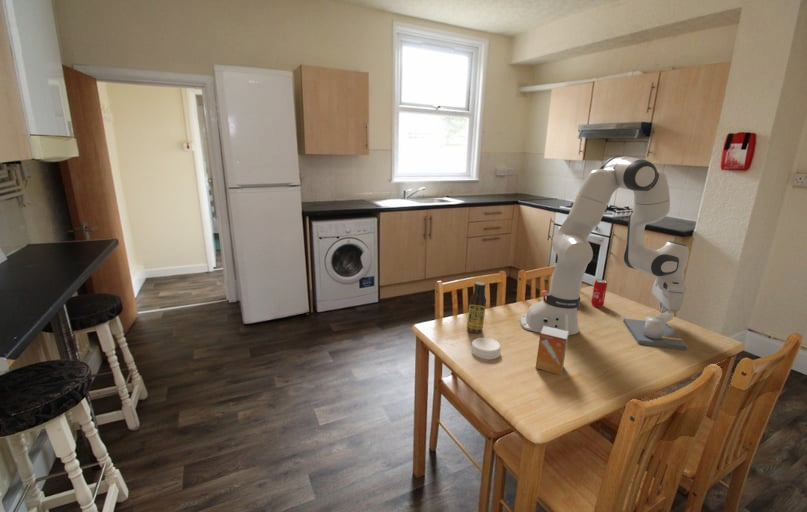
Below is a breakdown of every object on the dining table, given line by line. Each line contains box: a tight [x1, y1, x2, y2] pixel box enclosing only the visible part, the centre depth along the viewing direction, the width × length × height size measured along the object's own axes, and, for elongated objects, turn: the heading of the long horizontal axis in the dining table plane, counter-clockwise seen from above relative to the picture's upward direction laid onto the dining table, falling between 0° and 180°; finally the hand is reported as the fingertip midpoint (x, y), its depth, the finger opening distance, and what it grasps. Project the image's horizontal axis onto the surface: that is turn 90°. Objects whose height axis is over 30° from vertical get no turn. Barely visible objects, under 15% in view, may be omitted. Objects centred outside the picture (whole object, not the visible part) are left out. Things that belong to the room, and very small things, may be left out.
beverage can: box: [591, 279, 608, 308], centre depth 178 cm, size 5×5×12 cm
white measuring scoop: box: [643, 310, 675, 339], centre depth 149 cm, size 17×6×6 cm, turn 125°
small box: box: [535, 326, 570, 376], centre depth 125 cm, size 8×6×13 cm
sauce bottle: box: [466, 281, 487, 334], centre depth 149 cm, size 7×6×20 cm
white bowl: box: [471, 337, 502, 360], centre depth 135 cm, size 10×10×4 cm
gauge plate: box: [622, 317, 688, 351], centre depth 151 cm, size 16×20×2 cm
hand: (662, 312), depth 159 cm, fingers closed
